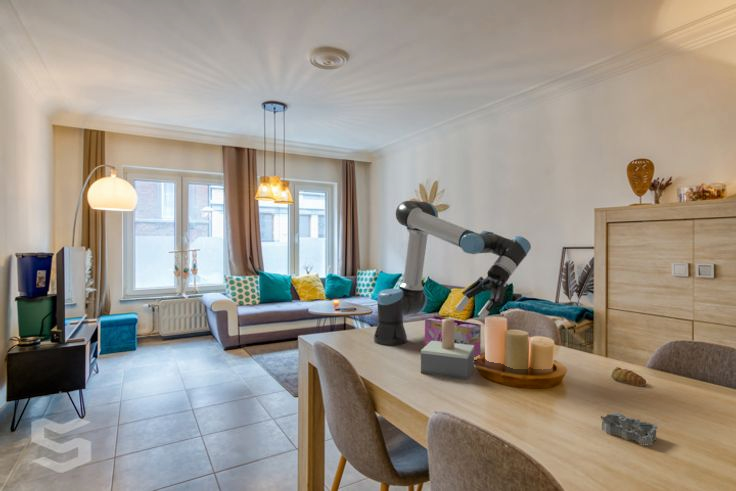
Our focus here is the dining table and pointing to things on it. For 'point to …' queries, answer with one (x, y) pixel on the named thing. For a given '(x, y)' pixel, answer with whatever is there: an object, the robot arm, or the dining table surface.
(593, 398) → the dining table surface
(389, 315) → the robot arm
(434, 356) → the tub
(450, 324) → the lid
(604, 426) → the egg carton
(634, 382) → the pastry
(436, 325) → the gum box
